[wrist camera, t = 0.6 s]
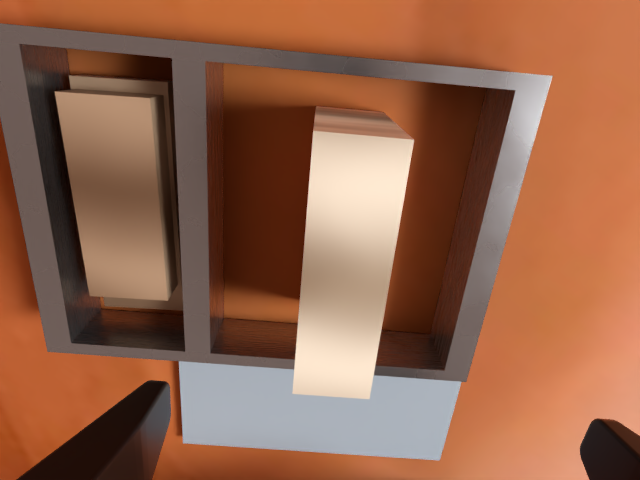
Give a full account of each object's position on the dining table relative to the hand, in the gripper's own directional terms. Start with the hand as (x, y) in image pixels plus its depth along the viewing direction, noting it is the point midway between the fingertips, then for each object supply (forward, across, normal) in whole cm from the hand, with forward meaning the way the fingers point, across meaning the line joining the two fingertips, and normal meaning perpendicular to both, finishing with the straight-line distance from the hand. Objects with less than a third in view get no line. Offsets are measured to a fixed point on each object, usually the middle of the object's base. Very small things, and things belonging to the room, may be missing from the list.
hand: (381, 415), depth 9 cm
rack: (+13, +4, 0) cm, 13 cm away
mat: (+13, 0, +12) cm, 18 cm away
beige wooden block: (+13, 0, 0) cm, 13 cm away
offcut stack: (+13, +10, 0) cm, 17 cm away
